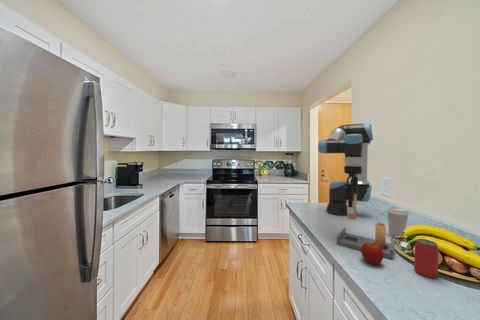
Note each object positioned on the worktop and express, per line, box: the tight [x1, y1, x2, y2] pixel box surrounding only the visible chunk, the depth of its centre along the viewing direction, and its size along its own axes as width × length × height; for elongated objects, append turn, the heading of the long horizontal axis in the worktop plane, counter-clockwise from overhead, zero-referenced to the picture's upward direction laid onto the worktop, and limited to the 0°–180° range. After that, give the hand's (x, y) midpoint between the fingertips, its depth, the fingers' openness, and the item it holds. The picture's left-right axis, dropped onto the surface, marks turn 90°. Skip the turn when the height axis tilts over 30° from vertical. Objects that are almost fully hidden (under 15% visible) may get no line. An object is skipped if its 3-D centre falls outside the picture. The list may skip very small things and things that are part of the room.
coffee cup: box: [386, 206, 410, 238], centre depth 108 cm, size 10×10×15 cm
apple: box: [360, 243, 384, 265], centre depth 83 cm, size 8×8×8 cm
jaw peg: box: [346, 193, 358, 220], centre depth 100 cm, size 4×4×13 cm
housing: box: [336, 221, 396, 261], centre depth 97 cm, size 13×22×13 cm, turn 50°
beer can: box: [413, 238, 440, 279], centre depth 76 cm, size 7×7×12 cm
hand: (351, 212), depth 100 cm, fingers closed on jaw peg, 4 cm apart
